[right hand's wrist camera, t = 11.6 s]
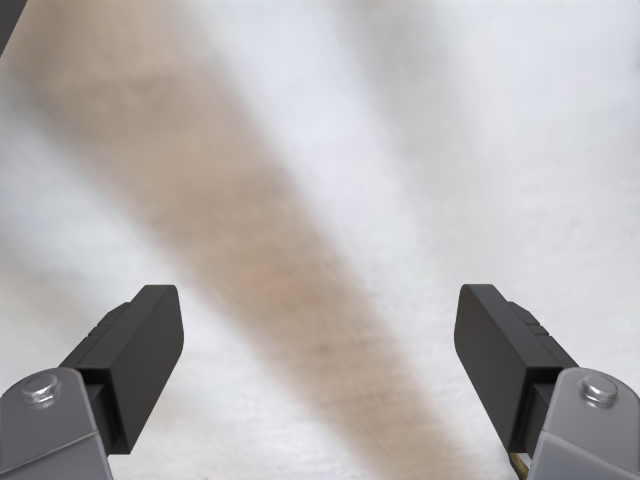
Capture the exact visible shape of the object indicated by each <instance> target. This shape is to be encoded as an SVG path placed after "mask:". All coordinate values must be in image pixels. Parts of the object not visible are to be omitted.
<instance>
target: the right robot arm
mask: <svg viewBox="0 0 640 480" xmlns="http://www.w3.org/2000/svg"><path fill="white" fill-rule="evenodd" d="M454 343H455V349H456V352H457V355H458V357H459V359H460V361H461V363H462V365H463V367H464V369H465V371H466V373H467V375H468V377H469V378H470V380H471V382H472V384H473V386H474V388H475V390H476V392H477V394H478V396H479V398H480V400H481V402H482V404H483V406H484V408H485V410H486V412H487V414H488V416H489V418H490V420H491V422H492V424H493V426H494V428H495V430H496V432H497V434H498V436H499V438H500V440H501V442H502V444H503V446H504V447H505V449H506V451H507V453H528V455H529V457H530V458H531V460H532V463H531V466H530V469H529V473H528V476H527V479H526V480H640V398H639V397H638V395H637V394H636V393H635V392H634V391H633V390H632V389H631V388H630V387H628V386H627V385H626V384H624V383H623V382H621V381H620V380H618V379H616V378H614V377H612V376H610V375H608V374H605V373H603V372H600V371H596V370H593V369H588V368H580V367H579V366H578V364H577V363H576V362H575V361H574V360H573V359H572V358H571V357H570V356H569V355H568V354H567V352H566V351H565V350H564V349H563V348H562V347H561V346H560V345H559V344H558V343H557V342H556V340H555V339H554V338H553V337H552V336H549V333H548V332H547V331H546V330H545V328H544V327H543V326H540V323H539V322H538V321H537V320H536V319H535V318H534V316H533V315H532V314H531V313H530V312H529V311H527V310H525V309H524V308H522V307H520V306H519V305H517V304H515V303H514V302H507V301H506V299H505V298H504V297H503V296H502V295H501V294H500V292H499V291H498V290H497V289H496V288H495V287H494V286H493V285H492V284H464V285H463V286H462V287H461V290H460V295H459V302H458V309H457V316H456V323H455V330H454ZM183 344H184V331H183V324H182V317H181V311H180V304H179V297H178V291H177V288H176V287H175V286H174V285H145V286H144V287H143V288H142V289H141V290H140V291H139V293H138V294H137V295H136V296H135V297H134V298H133V300H132V301H131V302H125V303H123V304H122V305H120V306H118V307H117V308H115V309H113V310H112V311H110V312H108V313H107V314H106V315H105V317H104V318H103V319H102V320H101V321H100V322H99V323H98V324H97V327H94V328H93V330H92V331H91V332H90V333H89V334H88V337H85V338H84V339H83V340H82V341H81V342H80V344H79V345H78V346H77V347H76V348H75V349H74V350H73V351H72V352H71V353H70V354H69V355H68V357H67V358H66V359H65V360H64V361H63V362H62V363H61V364H60V365H59V366H58V367H57V368H52V369H47V370H44V371H40V372H37V373H35V374H32V375H30V376H28V377H26V378H24V379H22V380H20V381H19V382H17V383H16V384H14V385H13V386H12V387H10V388H9V389H8V390H7V391H6V392H5V393H4V394H3V395H2V397H1V398H0V480H114V479H113V476H112V473H111V469H110V466H109V463H108V459H107V457H108V456H109V454H130V453H131V451H132V449H133V447H134V445H135V443H136V441H137V439H138V437H139V435H140V433H141V431H142V429H143V427H144V426H145V424H146V422H147V420H148V418H149V416H150V414H151V412H152V410H153V408H154V406H155V404H156V402H157V400H158V398H159V396H160V394H161V392H162V390H163V389H164V387H165V385H166V383H167V381H168V379H169V377H170V375H171V373H172V371H173V369H174V367H175V365H176V363H177V361H178V359H179V357H180V355H181V353H182V349H183Z"/></svg>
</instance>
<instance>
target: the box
mask: <svg viewBox="0 0 640 480" xmlns="http://www.w3.org/2000/svg"><path fill="white" fill-rule="evenodd" d="M26 2H27V0H0V57H1V55H2V53H3V51H4V49H5V47H6V44H7V42H8V40H9V38H10V36H11V34H12V32H13V30H14V28H15V26H16V23H17V21H18V19H19V17H20V15H21V13H22V11H23V9H24V7H25V4H26Z"/></svg>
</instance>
